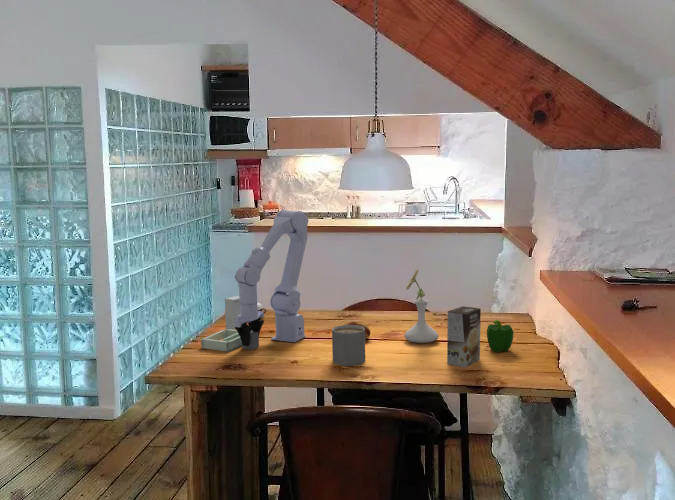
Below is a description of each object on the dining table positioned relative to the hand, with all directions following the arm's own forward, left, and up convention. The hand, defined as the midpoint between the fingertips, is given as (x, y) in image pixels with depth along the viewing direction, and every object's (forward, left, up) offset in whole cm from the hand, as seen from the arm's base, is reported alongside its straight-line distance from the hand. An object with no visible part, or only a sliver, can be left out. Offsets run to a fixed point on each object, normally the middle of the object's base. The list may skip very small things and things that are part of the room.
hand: (250, 343), depth 217 cm
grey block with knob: (0, 0, -2) cm, 2 cm away
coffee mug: (-36, -1, -2) cm, 36 cm away
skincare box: (+18, -17, -2) cm, 24 cm away
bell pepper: (-76, -27, -2) cm, 80 cm away
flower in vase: (-50, -27, -2) cm, 56 cm away
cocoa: (+22, -35, -2) cm, 41 cm away
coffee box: (-68, -11, -2) cm, 69 cm away
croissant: (-28, -22, -2) cm, 36 cm away
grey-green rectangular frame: (+10, 0, -1) cm, 10 cm away
